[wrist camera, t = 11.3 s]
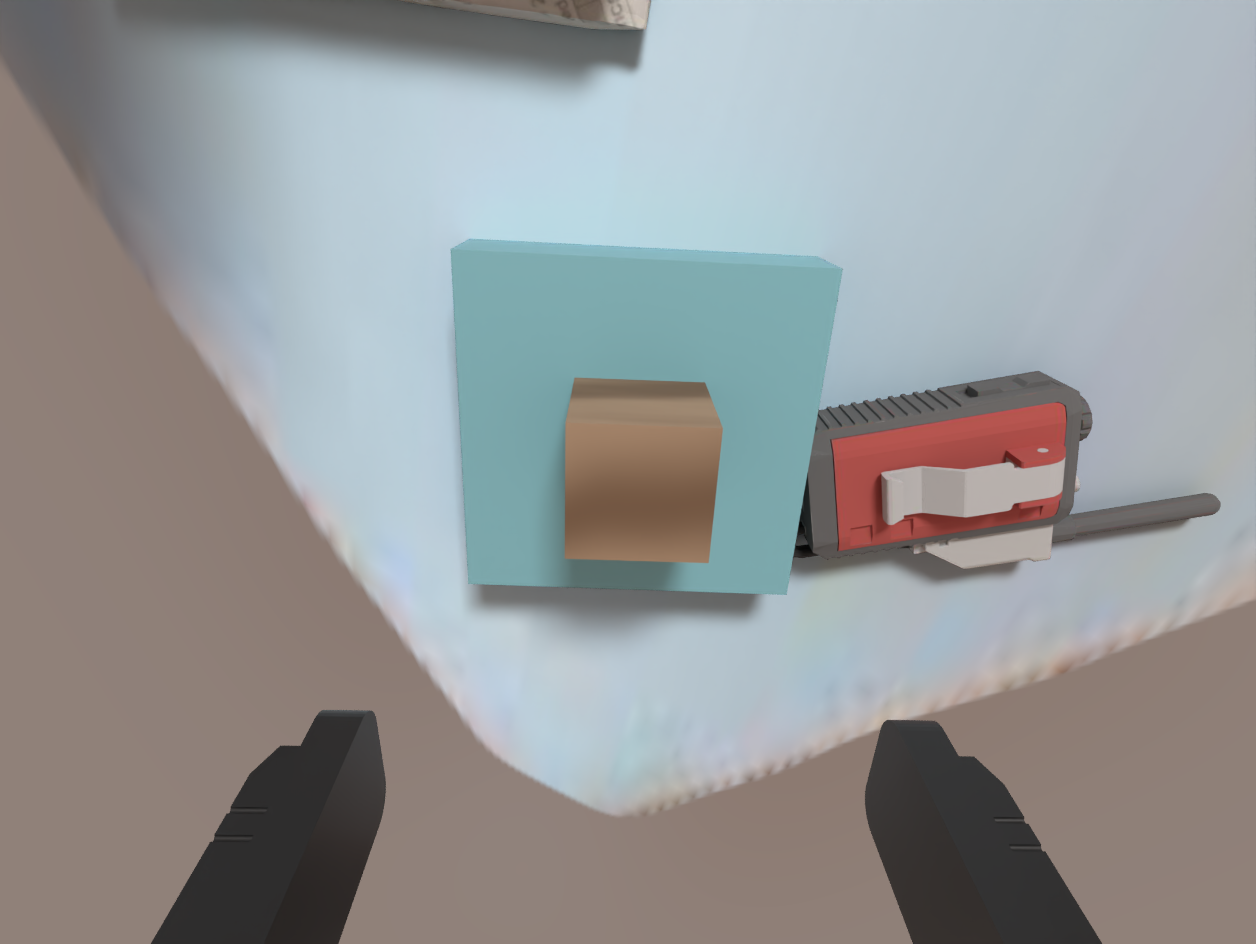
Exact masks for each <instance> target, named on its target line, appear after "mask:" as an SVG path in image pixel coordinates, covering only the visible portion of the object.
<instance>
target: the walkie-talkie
mask: <svg viewBox="0 0 1256 944" xmlns="http://www.w3.org/2000/svg"><path fill="white" fill-rule="evenodd" d="M1091 428H1092V413H1091V410H1090V408H1089V405H1088V403H1087V402H1086V400H1085V399H1084V398H1083V397H1082V396H1080V393H1079V391H1077V390H1075V389H1073V388H1071V387H1069V386H1067V385H1065V384H1063V383H1061V382H1059V381H1057V380H1055V379H1053V378H1051V377H1049V376H1047V375H1045V374H1043V373H1041V372H1039V371H1035V372H1029V373H1023V374H1017V375H1011V376H1006V377H1000V378H994V379H988V380H982V381H976V382H971V383H965V384H959V385H953V386H947V387H941V388H938V390H936V391H931V390H926V391H925V392H924V393H918V392H913V394H912V395H907V396H906V395H905V394H901V395H900V397H895V398H894V397H893V396H889V397H888V399H883V400H881V399H880V398H877V399H876V401H872V402H869V401H868V400H865V401H864V402H863V403H860V404H856V403H855V402H854V403H851V405H848V406H844V405H843V404H842V405H839V407H836V408H832V407H831V406H830V407H827V409H825V410H819V409H818V415H817V421H816V427H815V432H814V438H813V444H812V450H811V456H810V462H809V467H808V473H807V479H806V485H805V491H804V496H803V502H802V508H801V514H800V520H799V525H798V531H797V535H800V534H804V536H805V538H806V540H807V542H808V545H801V546H796V545H795V549H794V554H793V557H799V558H805V557H812V556H818V555H819V556H821V557H823V558H825V559H827V560H828V559H829V558H833V557H837V558H840V557H841V556H846V555H849V556H853V554H858V553H861V554H865V553H866V552H871V551H873V552H877V551H878V550H884V549H885V550H889V549H890V548H910V549H911V551H912V552H913V553H914V554H917V553H923V552H929V553H931V554H933V555H935V556H937V557H939V558H941V559H943V560H946V561H948V562H950V563H952V564H954V565H956V566H958V567H960V568H962V569H969V568H976V567H983V566H989V565H996V564H1003V563H1009V562H1016V561H1023V560H1032V561H1040V560H1047V559H1050V555H1051V544H1052V543H1053V542H1060V541H1067V540H1072V539H1073V538H1074V537H1075V536H1079V535H1086V534H1092V533H1098V532H1105V531H1111V530H1118V529H1124V528H1131V527H1137V526H1144V525H1150V524H1157V523H1163V522H1169V521H1176V520H1182V519H1189V518H1195V517H1202V516H1208V515H1213V514H1215V513H1216V512H1217V511H1219V509H1220V506H1221V505H1220V501H1219V500H1218V498H1217V497H1216V496H1214V495H1213V494H1208V493H1203V494H1197V495H1191V496H1184V497H1178V498H1172V499H1165V500H1159V501H1153V502H1147V503H1140V504H1134V505H1128V506H1121V507H1115V508H1109V509H1102V510H1096V511H1090V512H1084V513H1077V514H1071V515H1069V513H1070V511H1071V509H1072V507H1073V502H1074V492H1077V491H1078V490H1079V489H1080V481H1079V478H1078V477H1077V476H1076V471H1077V460H1078V450H1079V441H1081V440H1083V439H1084V438H1087V436H1088V434H1089V433H1090V430H1091Z"/></svg>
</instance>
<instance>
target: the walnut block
mask: <svg viewBox="0 0 1256 944" xmlns="http://www.w3.org/2000/svg"><path fill="white" fill-rule="evenodd" d="M722 433H723V427H722V425H721V422H720V419H719V417H718V414H717V412H716V409H715V407H714V404H713V401H712V399H711V396H710V394H709V391H708V389H707V386H706V384H705V382H681V381H654V380H628V379H601V378H574V383H573V388H572V393H571V398H570V403H569V408H568V413H567V418H566V423H565V559H590V560H622V561H655V562H688V563H709V556H710V546H711V537H712V527H713V518H714V508H715V499H716V490H717V480H718V471H719V461H720V452H721V442H722Z"/></svg>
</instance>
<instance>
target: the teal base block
mask: <svg viewBox="0 0 1256 944" xmlns="http://www.w3.org/2000/svg"><path fill="white" fill-rule="evenodd" d="M451 265H452V284H453V303H454V322H455V340H456V359H457V378H458V397H459V416H460V434H461V453H462V472H463V491H464V510H465V528H466V547H467V566H468V584H486V585H515V586H544V587H573V588H602V589H632V590H661V591H690V592H719V593H748V594H777V595H787V589H788V583H789V578H790V572H791V566H792V560H793V554H794V549H795V543H796V537H797V531H798V525H799V520H800V514H801V508H802V502H803V496H804V491H805V485H806V479H807V473H808V467H809V462H810V456H811V450H812V444H813V438H814V432H815V427H816V421H817V415H818V409H819V403H820V398H821V392H822V386H823V380H824V374H825V369H826V363H827V357H828V351H829V345H830V340H831V334H832V328H833V322H834V316H835V311H836V305H837V299H838V293H839V287H840V282H841V276H842V270H843V269H842V268H840V267H838V266H836V265H834V264H832V263H830V262H828V261H825V260H823V259H821V258H819V257H816V256H797V255H777V254H758V253H738V252H718V251H699V250H679V249H660V248H640V247H620V246H601V245H581V244H562V243H542V242H522V241H503V240H483V239H469V240H467V241H465V242H463V243H461V244H459V245H458V246H456V247H454V248H452V249H451ZM574 378H601V379H628V380H654V381H681V382H705V384H706V386H707V389H708V391H709V394H710V396H711V399H712V401H713V404H714V407H715V409H716V412H717V414H718V417H719V419H720V422H721V425H722V427H723V433H722V442H721V452H720V461H719V471H718V480H717V490H716V499H715V508H714V518H713V527H712V537H711V546H710V556H709V563H688V562H655V561H622V560H590V559H565V423H566V418H567V413H568V408H569V403H570V398H571V393H572V388H573V383H574Z"/></svg>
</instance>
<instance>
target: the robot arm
mask: <svg viewBox="0 0 1256 944" xmlns="http://www.w3.org/2000/svg"><path fill="white" fill-rule="evenodd" d="M385 793H386V781H385V773H384V767H383V760H382V754H381V747H380V740H379V735H378V727H377V722H376V716H375V714H374V712H373V711H358V710H354V711H353V710H322V711H321V712H320V713H319V714H318V715H317V716H316V718H315V719H314V721H313V723H312V725H311V727H310V729H309V731H308V733H307V734H306V737H305V738H304V740H303V742H302V744H301V746H280V747H279V748H277V749H276V750H275V751H274V752H273V753H272V754H271V755H270V756H269V757H268V758H267V759H266V760H264V761H263V762H262V763H261V764H260V765H259V766H258V767H257V768H256V769H255V770H254V771H252V772H251V773H250V775H249V777H248V778H247V780H246V782H245V783H244V785H243V787H242V788H241V790H240V792H239V794H238V795H237V797H236V799H235V800H234V802H233V804H232V806H231V811H230V813H229V814H226V816H225V818H224V819H223V821H222V823H221V825H220V826H219V828H218V830H217V831H216V833H215V838H214V841H213V842H210V844H209V845H208V847H207V849H206V850H205V852H204V854H203V855H202V857H201V859H200V860H199V862H198V864H197V866H196V867H195V869H194V871H193V872H192V874H191V876H190V878H189V879H188V881H187V883H186V884H185V886H184V888H183V890H182V891H181V893H180V895H179V897H178V898H177V900H176V902H175V903H174V905H173V907H172V908H171V910H170V912H169V914H168V916H167V917H166V919H165V920H164V923H163V924H162V926H161V928H160V929H159V931H158V932H157V934H156V936H155V938H154V939H153V941H152V943H151V944H338V943H339V940H340V937H341V935H342V931H343V929H344V925H345V923H346V920H347V917H348V914H349V911H350V909H351V906H352V902H353V900H354V897H355V894H356V891H357V888H358V886H359V883H360V880H361V877H362V874H363V871H364V868H365V865H366V862H367V859H368V856H369V854H370V851H371V848H372V845H373V842H374V839H375V836H376V834H377V830H378V828H379V824H380V822H381V818H382V814H383V809H384V803H385ZM865 806H866V815H867V819H868V824H869V828H870V831H871V834H872V836H873V839H874V842H875V844H876V847H877V849H878V852H879V855H880V857H881V860H882V862H883V865H884V868H885V871H886V873H887V876H888V878H889V881H890V884H891V886H892V889H893V892H894V894H895V897H896V900H897V902H898V905H899V908H900V910H901V913H902V915H903V918H904V921H905V923H906V926H907V929H908V931H909V934H910V937H911V940H912V942H913V944H1102V943H1101V941H1100V939H1099V938H1098V936H1097V935H1096V933H1095V931H1094V930H1093V928H1092V926H1091V925H1090V923H1089V922H1088V920H1087V918H1086V917H1085V915H1084V914H1083V912H1082V910H1081V909H1080V907H1079V905H1078V904H1077V902H1076V900H1075V899H1074V897H1073V896H1072V894H1071V893H1070V891H1069V889H1068V887H1067V886H1066V884H1065V883H1064V881H1063V879H1062V878H1061V876H1060V874H1059V873H1058V872H1057V870H1056V868H1055V866H1054V865H1053V863H1052V862H1051V860H1050V858H1049V857H1048V855H1047V853H1046V852H1043V851H1042V850H1041V844H1040V842H1039V840H1038V839H1037V837H1036V836H1035V834H1034V832H1033V831H1032V829H1031V827H1030V826H1029V824H1026V823H1025V822H1024V816H1023V814H1022V813H1021V811H1020V810H1019V808H1018V806H1017V805H1016V803H1015V802H1014V800H1013V798H1012V797H1011V795H1010V793H1009V792H1008V790H1007V788H1006V787H1005V785H1004V784H1003V783H1002V782H1001V781H1000V780H999V779H998V778H996V777H995V776H994V775H993V774H992V773H991V772H990V771H989V770H988V769H987V768H986V767H984V766H983V765H982V764H981V763H980V762H979V761H978V760H977V759H976V758H975V757H962V756H961V757H960V756H958V754H957V753H956V751H955V749H954V747H953V746H952V744H951V742H950V740H949V739H948V737H947V735H946V733H945V732H944V730H943V728H942V727H941V726H940V725H939V724H938V723H937V722H935V721H916V720H887V721H885V722H884V723H883V725H882V727H881V730H880V734H879V738H878V742H877V746H876V750H875V754H874V758H873V762H872V766H871V769H870V773H869V777H868V782H867V785H866V791H865Z"/></svg>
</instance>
